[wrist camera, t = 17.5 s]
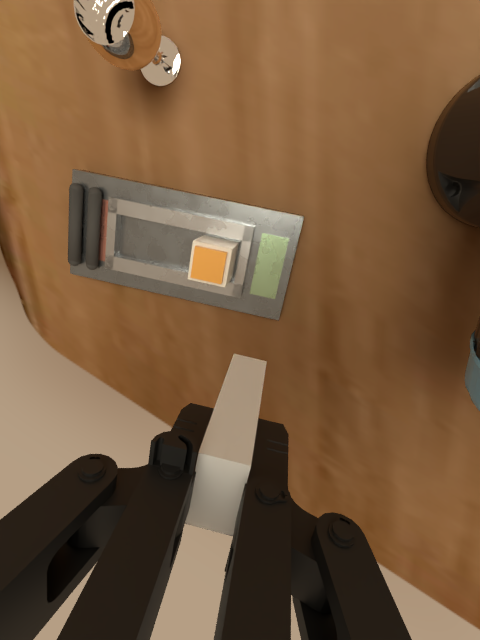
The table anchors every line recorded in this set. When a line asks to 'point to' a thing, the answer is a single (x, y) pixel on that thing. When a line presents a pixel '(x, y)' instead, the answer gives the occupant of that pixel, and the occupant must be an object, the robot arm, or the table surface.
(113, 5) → the wineglass
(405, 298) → the table surface
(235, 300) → the panel
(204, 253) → the toggle
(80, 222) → the twin grey rollers
